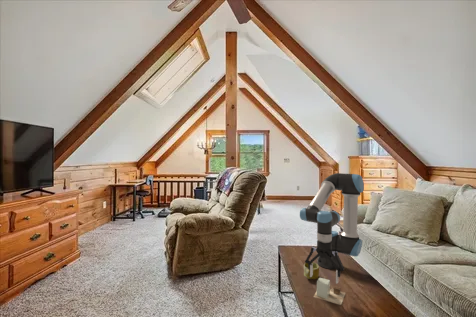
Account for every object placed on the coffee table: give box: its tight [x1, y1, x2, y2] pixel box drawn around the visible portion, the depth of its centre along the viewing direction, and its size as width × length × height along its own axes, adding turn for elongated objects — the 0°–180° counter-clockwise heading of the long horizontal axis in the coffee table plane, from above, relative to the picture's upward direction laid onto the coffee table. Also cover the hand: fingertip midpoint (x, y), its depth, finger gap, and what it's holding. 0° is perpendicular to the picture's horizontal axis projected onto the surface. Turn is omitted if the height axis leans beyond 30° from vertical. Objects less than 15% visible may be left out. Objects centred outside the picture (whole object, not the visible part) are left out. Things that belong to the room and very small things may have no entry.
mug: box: [303, 261, 320, 280], centre depth 162 cm, size 12×10×10 cm
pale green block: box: [316, 277, 331, 299], centre depth 140 cm, size 6×6×8 cm
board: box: [313, 285, 346, 306], centre depth 140 cm, size 14×14×4 cm
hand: (323, 279), depth 141 cm, fingers open, 13 cm apart
